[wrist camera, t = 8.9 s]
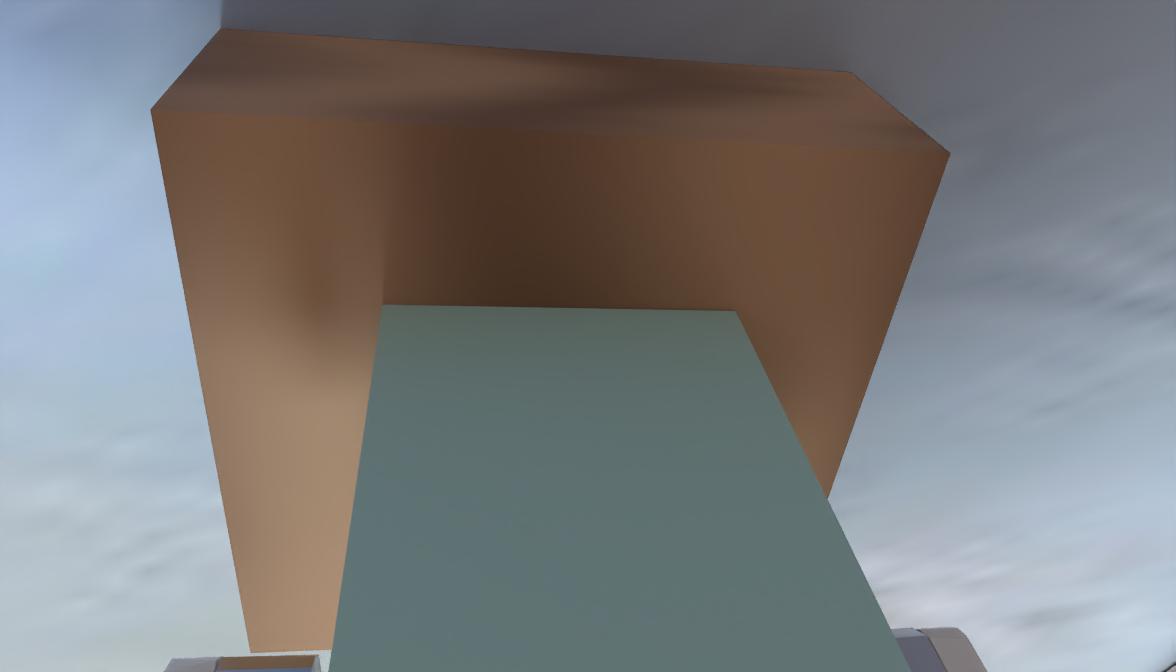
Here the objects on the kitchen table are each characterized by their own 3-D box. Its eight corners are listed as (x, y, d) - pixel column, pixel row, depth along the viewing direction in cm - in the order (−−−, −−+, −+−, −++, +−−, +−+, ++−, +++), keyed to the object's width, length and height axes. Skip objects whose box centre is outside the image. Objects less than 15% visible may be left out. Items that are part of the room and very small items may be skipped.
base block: (840, 64, 15) (950, 152, 11) (728, 488, 20) (780, 630, 17) (227, 20, 13) (151, 109, 10) (287, 494, 19) (250, 652, 15)
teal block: (735, 311, 12) (970, 792, 7) (681, 548, 15) (814, 1034, 9) (382, 304, 12) (303, 844, 6) (392, 556, 14) (347, 1089, 9)
